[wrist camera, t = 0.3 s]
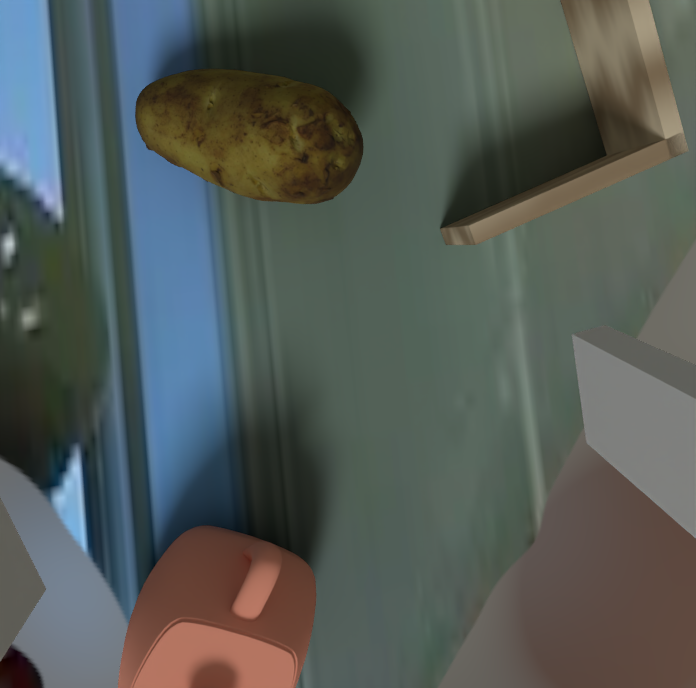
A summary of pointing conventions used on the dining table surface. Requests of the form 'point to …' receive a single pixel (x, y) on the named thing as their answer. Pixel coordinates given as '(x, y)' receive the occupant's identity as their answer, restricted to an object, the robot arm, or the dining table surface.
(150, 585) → the teapot
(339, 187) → the potato
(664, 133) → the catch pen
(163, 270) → the dining table surface
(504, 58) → the dining table surface
